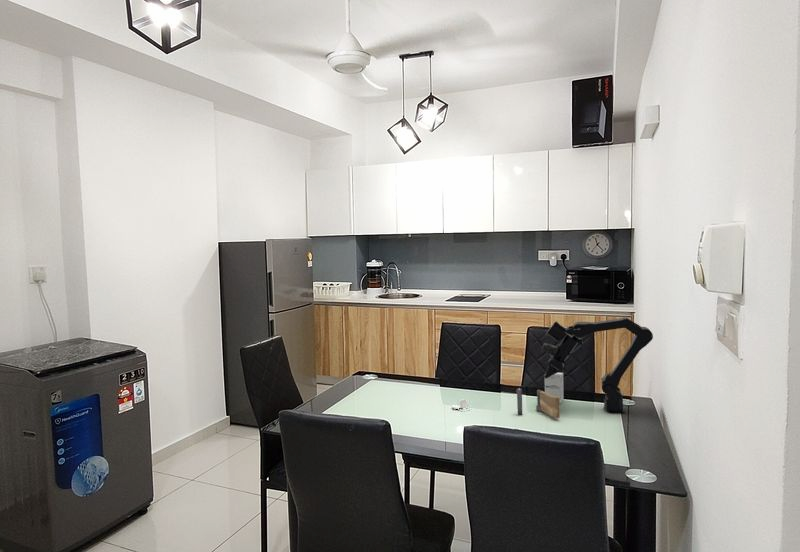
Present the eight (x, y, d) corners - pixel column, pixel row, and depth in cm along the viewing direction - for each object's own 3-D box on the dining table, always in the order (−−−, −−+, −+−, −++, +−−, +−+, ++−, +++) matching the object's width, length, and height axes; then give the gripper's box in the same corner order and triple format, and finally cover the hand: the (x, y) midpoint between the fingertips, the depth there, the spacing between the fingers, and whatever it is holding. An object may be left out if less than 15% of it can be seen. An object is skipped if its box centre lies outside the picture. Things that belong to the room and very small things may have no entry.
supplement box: (544, 402, 227) (543, 375, 226) (547, 397, 234) (547, 371, 233) (561, 404, 224) (560, 376, 223) (564, 399, 230) (563, 372, 230)
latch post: (522, 413, 213) (521, 387, 213) (523, 415, 211) (522, 388, 210) (516, 413, 213) (515, 387, 213) (517, 415, 211) (517, 389, 210)
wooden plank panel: (540, 407, 217) (540, 388, 217) (559, 417, 203) (559, 397, 203) (536, 408, 217) (535, 388, 216) (555, 418, 203) (554, 398, 202)
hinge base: (541, 409, 217) (541, 405, 217) (543, 411, 215) (543, 407, 215) (535, 409, 217) (535, 405, 217) (537, 411, 215) (537, 407, 214)
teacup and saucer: (450, 410, 222) (449, 401, 222) (456, 405, 229) (456, 396, 229) (468, 413, 218) (468, 404, 218) (474, 407, 225) (474, 398, 225)
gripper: (551, 332, 228) (531, 359, 231) (549, 340, 210) (528, 369, 214) (572, 347, 225) (552, 374, 229) (572, 355, 207) (550, 385, 211)
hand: (545, 375), depth 220 cm, fingers open, 9 cm apart
